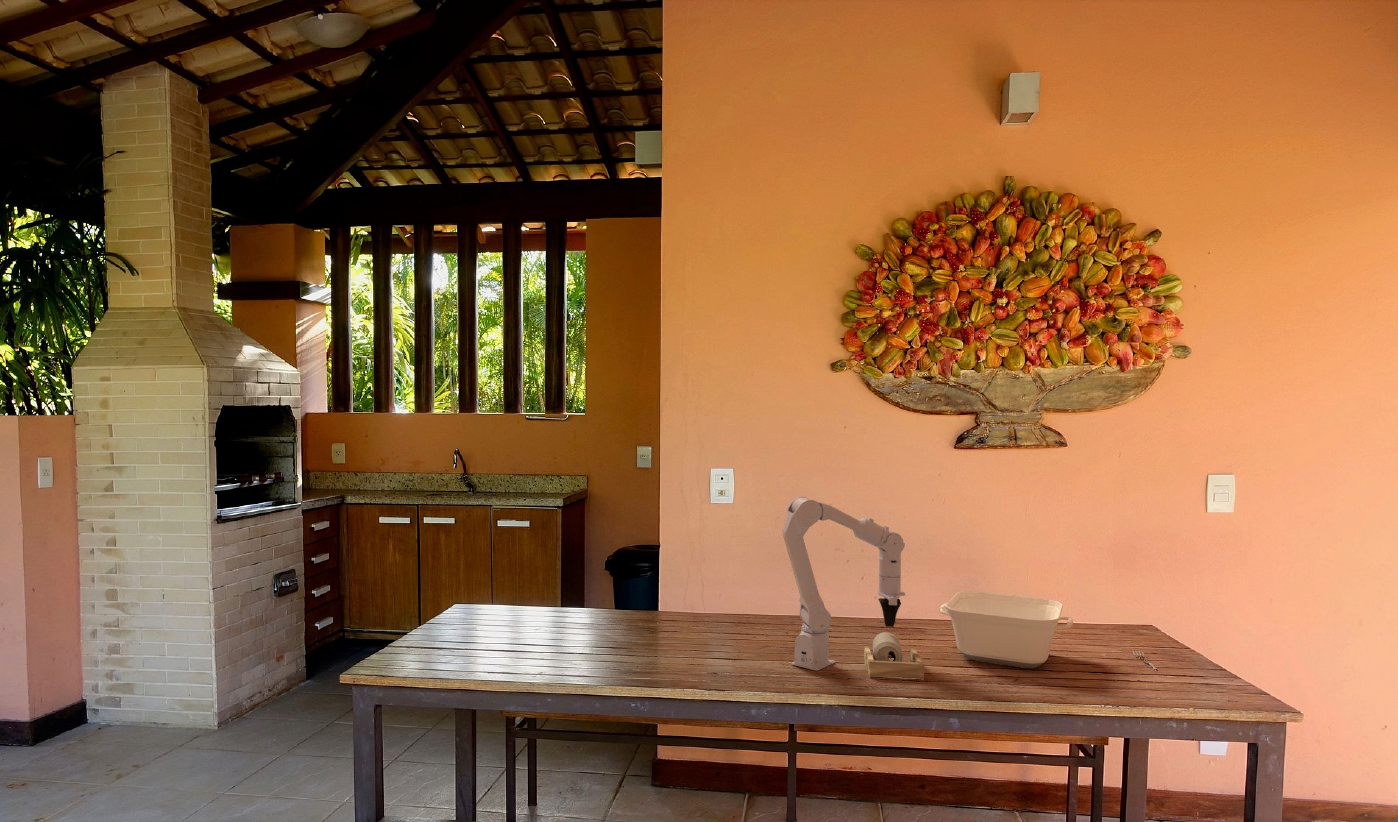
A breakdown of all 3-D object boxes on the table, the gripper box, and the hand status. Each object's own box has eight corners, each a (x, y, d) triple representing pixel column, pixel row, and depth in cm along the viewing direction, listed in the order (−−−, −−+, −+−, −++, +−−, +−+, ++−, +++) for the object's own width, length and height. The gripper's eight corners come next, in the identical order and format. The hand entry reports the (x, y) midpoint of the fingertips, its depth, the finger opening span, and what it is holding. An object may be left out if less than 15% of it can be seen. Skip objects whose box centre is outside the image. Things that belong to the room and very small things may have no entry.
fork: (1163, 683, 196) (1163, 676, 196) (1130, 656, 219) (1130, 649, 219) (1177, 684, 195) (1177, 677, 195) (1143, 657, 219) (1143, 650, 219)
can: (902, 657, 212) (905, 670, 200) (875, 660, 213) (876, 674, 201) (897, 629, 212) (900, 641, 200) (870, 633, 214) (870, 645, 202)
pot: (930, 662, 210) (930, 607, 210) (949, 637, 236) (949, 588, 236) (1070, 683, 194) (1070, 623, 195) (1074, 653, 220) (1075, 601, 220)
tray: (924, 680, 195) (924, 664, 195) (869, 677, 196) (869, 661, 196) (914, 663, 209) (914, 648, 209) (863, 661, 210) (864, 646, 210)
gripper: (909, 581, 203) (908, 633, 203) (901, 571, 218) (900, 620, 217) (881, 580, 204) (881, 632, 204) (875, 570, 218) (875, 619, 218)
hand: (889, 626), depth 211 cm, fingers closed
